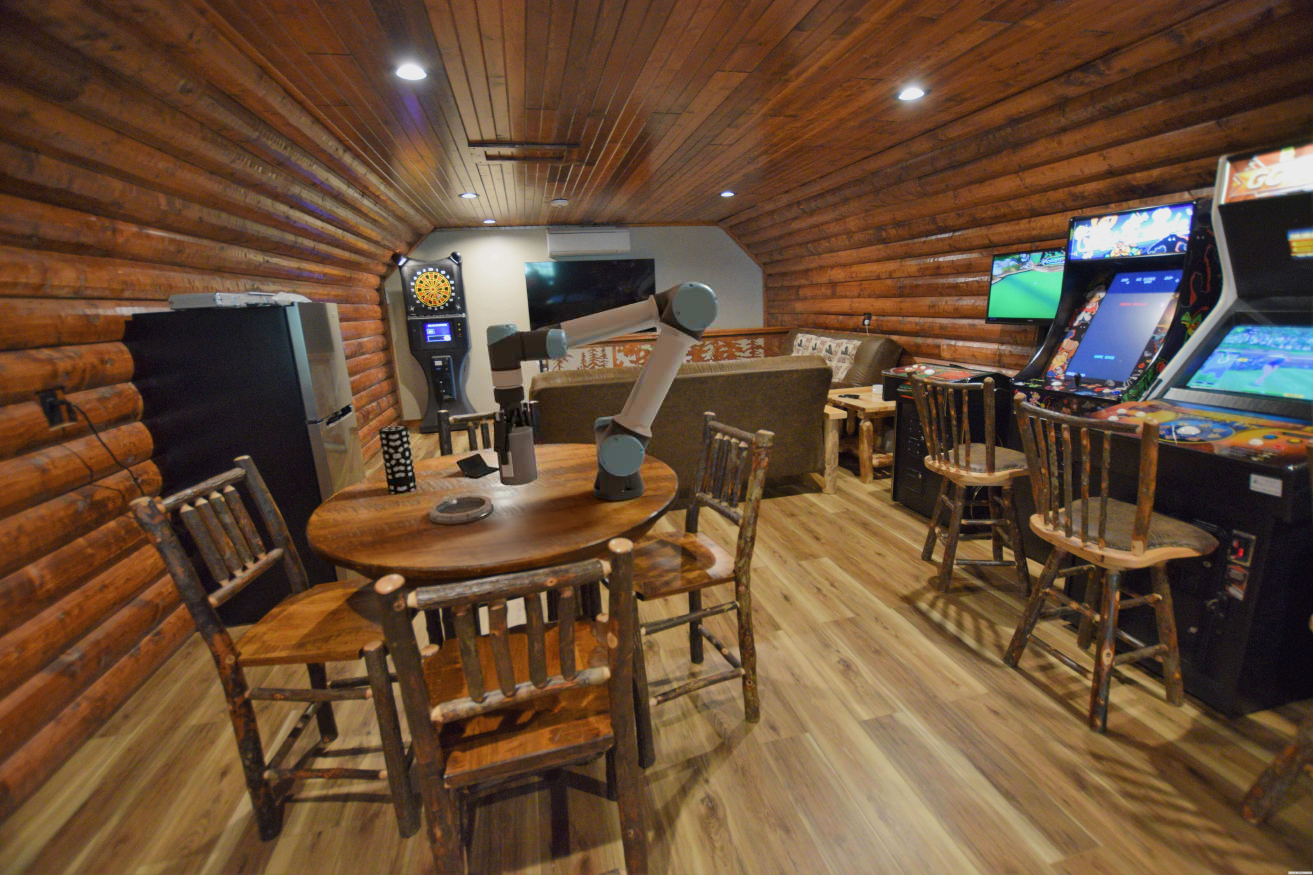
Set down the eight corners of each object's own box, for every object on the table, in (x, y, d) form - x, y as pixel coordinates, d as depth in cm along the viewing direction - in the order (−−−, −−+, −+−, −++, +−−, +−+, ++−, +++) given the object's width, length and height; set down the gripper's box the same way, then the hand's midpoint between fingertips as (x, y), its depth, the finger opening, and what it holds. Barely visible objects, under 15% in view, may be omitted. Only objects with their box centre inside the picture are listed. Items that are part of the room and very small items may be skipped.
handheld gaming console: (483, 474, 191) (466, 450, 192) (469, 486, 193) (452, 462, 194) (502, 469, 202) (487, 446, 203) (489, 481, 204) (473, 458, 205)
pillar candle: (497, 478, 156) (490, 424, 152) (533, 471, 159) (527, 418, 156) (504, 488, 147) (497, 431, 143) (542, 481, 151) (535, 425, 147)
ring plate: (505, 504, 166) (504, 496, 166) (471, 527, 150) (470, 518, 150) (453, 501, 171) (452, 493, 170) (416, 523, 155) (414, 514, 154)
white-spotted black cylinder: (382, 492, 182) (372, 430, 177) (402, 484, 189) (393, 424, 184) (402, 495, 179) (392, 432, 174) (422, 486, 186) (413, 426, 181)
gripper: (516, 379, 159) (525, 457, 164) (470, 394, 138) (482, 483, 143) (541, 379, 156) (550, 458, 162) (498, 393, 136) (509, 484, 141)
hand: (518, 470), depth 153 cm, fingers closed on pillar candle, 10 cm apart
